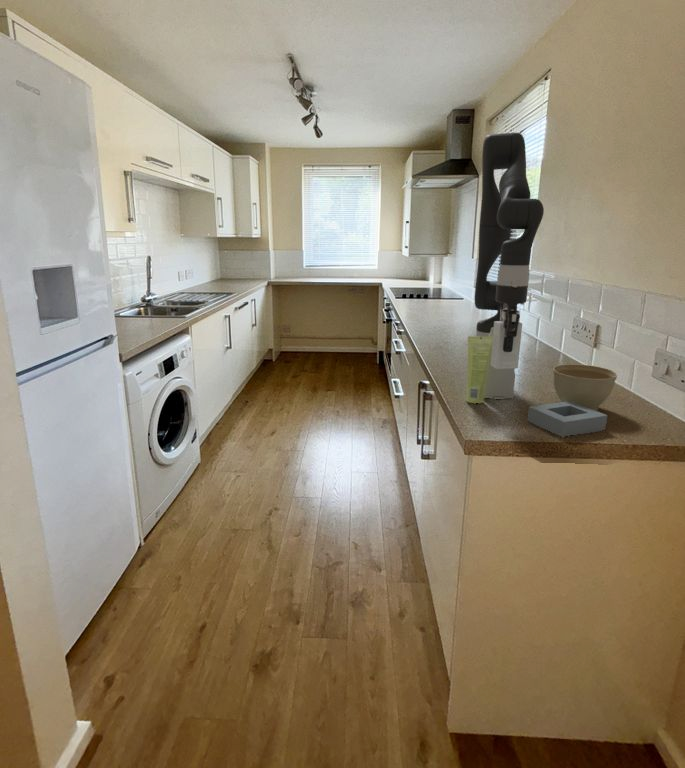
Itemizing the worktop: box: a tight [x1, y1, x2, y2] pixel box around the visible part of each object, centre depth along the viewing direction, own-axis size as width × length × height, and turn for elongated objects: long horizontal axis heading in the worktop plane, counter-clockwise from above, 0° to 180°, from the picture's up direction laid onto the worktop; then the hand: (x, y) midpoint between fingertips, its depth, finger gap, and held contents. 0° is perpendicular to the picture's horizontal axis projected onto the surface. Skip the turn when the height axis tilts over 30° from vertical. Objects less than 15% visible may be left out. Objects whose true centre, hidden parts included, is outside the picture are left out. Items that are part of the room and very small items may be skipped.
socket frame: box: [527, 401, 608, 438], centre depth 126 cm, size 12×14×4 cm
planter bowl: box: [552, 363, 618, 411], centre depth 139 cm, size 16×16×11 cm
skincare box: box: [491, 321, 523, 369], centre depth 128 cm, size 6×4×12 cm
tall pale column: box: [483, 327, 516, 400], centre depth 145 cm, size 11×4×22 cm, turn 93°
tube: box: [465, 335, 493, 405], centre depth 142 cm, size 6×5×20 cm
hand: (505, 348), depth 128 cm, fingers closed on skincare box, 5 cm apart
